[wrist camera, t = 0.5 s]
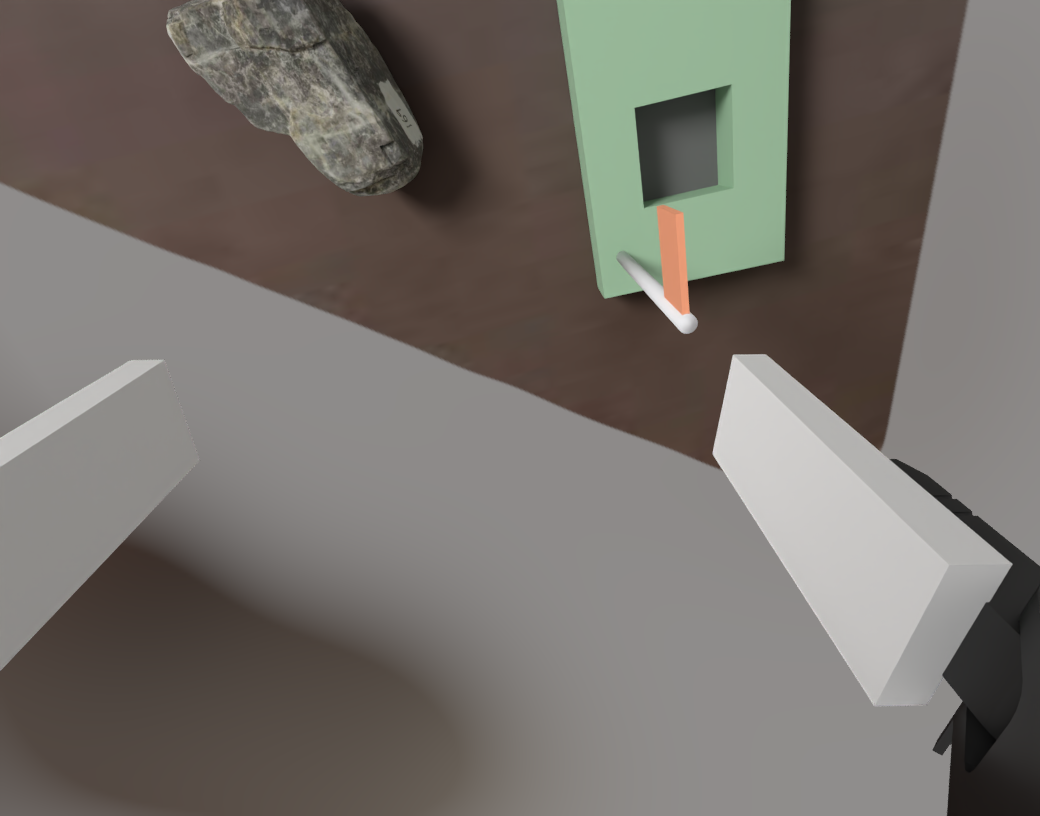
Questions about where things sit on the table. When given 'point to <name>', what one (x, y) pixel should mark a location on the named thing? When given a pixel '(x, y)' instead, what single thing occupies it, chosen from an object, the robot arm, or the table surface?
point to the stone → (306, 84)
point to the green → (679, 139)
